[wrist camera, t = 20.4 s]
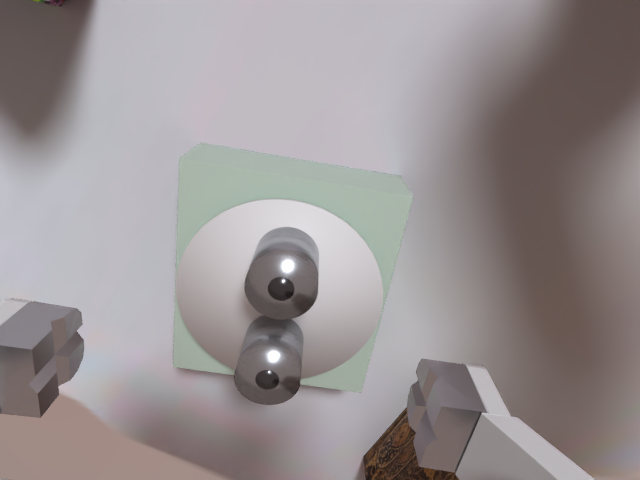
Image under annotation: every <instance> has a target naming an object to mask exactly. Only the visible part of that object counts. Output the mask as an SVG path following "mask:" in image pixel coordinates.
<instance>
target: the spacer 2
mask: <svg viewBox="0 0 640 480" xmlns="http://www.w3.org/2000/svg"><path fill="white" fill-rule="evenodd" d="M303 344H304V336H303V332H302V330H301V328H300V327H299V325H298V324H297V323H296V322H295V321H293V320H292V319H287V320H279V319H273V318H269V317H267V316H261V317H259V318H257V319H255V320H254V321H253V322H252V323H251V324H250V325H249V327H248V329H247V331H246V335H245V338H244V342H243V345H242V349H241V352H240V355H239V359H238V362H237V366H236V369H235V373H234V381H235V385H236V387H237V389H238V390H239V392H240V393H241V394H242V395H243V396H245V397H246V398H247V399H249V400H251V401H253V402H256V403H259V404H265V405H274V404H279V403H283V402H285V401H287V400H289V399H290V398H292V397H293V396H294V395H295V394H296V393H297V391H298V389H299V387H300V381H301V369H302V356H303Z"/></svg>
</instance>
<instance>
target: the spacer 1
mask: <svg viewBox="0 0 640 480" xmlns="http://www.w3.org/2000/svg"><path fill="white" fill-rule="evenodd" d="M318 279H319V251H318V247H317V245H316V243H315V242H314V240H313V239H312V238H311V237H310V236H309V235H308V234H307V233H305V232H304V231H302V230H300V229H297V228H293V227H280V228H276V229H273V230H271V231H269V232H267V233H266V234H265V235H264V236H263V237H262V238H261V239H260V241H259V243H258V245H257V248H256V250H255V253H254V256H253V259H252V261H251V264H250V267H249V270H248V273H247V275H246V278H245V283H244V289H245V294H246V297H247V299H248V301H249V303H250V304H251V305H252V307H253V308H254V309H255V310H257V311H258V312H259V313H261V314H262V315H264V316H267V317H269V318H273V319H279V320H287V319H293V318H296V317H299V316H301V315H303V314H304V313H306V312H307V311H308V310H309V309H310V308H311V307H312V306H313V304H314V303H315V301H316V298H317V295H318Z"/></svg>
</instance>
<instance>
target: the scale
mask: <svg viewBox="0 0 640 480" xmlns="http://www.w3.org/2000/svg"><path fill="white" fill-rule="evenodd" d="M412 200H413V195H412V193H411V192H410V190H409V189H408V187H407V185H406V184H405V182H404V180H403V179H402V177H401V176H398V175H392V174H386V173H380V172H374V171H368V170H362V169H356V168H350V167H344V166H338V165H332V164H326V163H320V162H314V161H308V160H302V159H296V158H290V157H284V156H278V155H272V154H266V153H260V152H254V151H248V150H242V149H236V148H230V147H224V146H218V145H212V144H206V143H200V144H198V145H197V146H196V147H194V148H193V149H191V150H190V151H189V152H187V153H186V154H184V155H183V156H181V157H180V158H179V183H178V215H177V247H176V279H175V312H174V344H173V367H177V368H184V369H192V370H199V371H206V372H213V373H221V374H228V375H234V373H235V369H236V366H237V362H238V359H239V355H240V352H241V349H242V345H243V342H244V338H245V335H246V331H247V329H248V327H249V325H250V324H251V323H252V322H253V321H254V320H255V319H257V318H259V317H261V316H264V315H262V314H261V313H259V312H258V311H257V310H255V309H254V308H253V307H252V305H251V304H250V303H249V301H248V299H247V297H246V294H245V289H244V283H245V278H246V275H247V273H248V270H249V267H250V264H251V261H252V259H253V256H254V253H255V250H256V248H257V245H258V243H259V241H260V239H261V238H262V237H263V236H264V235H265V234H266V233H267V232H269V231H271V230H273V229H276V228H280V227H293V228H297V229H300V230H302V231H304V232H305V233H307V234H308V235H309V236H310V237H311V238H312V239H313V240H314V242H315V243H316V245H317V247H318V251H319V279H318V295H317V298H316V301H315V303H314V304H313V306H312V307H311V308H310V309H309V310H308V311H307V312H306V313H304V314H303V315H301V316H299V317H296V318H293V319H292V320H293V321H295V322H296V323H297V324H298V325H299V327H300V328H301V330H302V332H303V336H304V344H303V356H302V369H301V381H300V384H301V385H308V386H315V387H323V388H330V389H337V390H344V391H352V392H359V393H361V391H362V387H363V384H364V380H365V376H366V372H367V369H368V365H369V361H370V357H371V354H372V350H373V346H374V342H375V339H376V335H377V331H378V327H379V324H380V320H381V316H382V312H383V309H384V305H385V301H386V297H387V294H388V290H389V286H390V282H391V279H392V275H393V271H394V267H395V264H396V260H397V256H398V252H399V249H400V245H401V241H402V237H403V234H404V230H405V226H406V222H407V219H408V215H409V211H410V207H411V204H412Z"/></svg>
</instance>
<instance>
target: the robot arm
mask: <svg viewBox="0 0 640 480" xmlns="http://www.w3.org/2000/svg"><path fill="white" fill-rule="evenodd" d="M81 325H82V315H81V312H80V311H79V310H78V309H77V308H71V307H65V306H59V305H53V304H47V303H41V302H35V301H34V302H32V301H28V300H21V299H15V298H11V299H5V300H4V301H3V302H1V303H0V414H10V415H19V416H29V417H39V418H41V417H42V415H43V414H44V413H45V412H46V410H47V409H48V408H49V407H50V405H51V404H52V403H53V402H54V400H55V399H56V398H57V396H58V395H59V389H58V386H59V385H61V384H63V383H65V382H67V381H70V380H71V379H72V377H73V376H74V375H75V373H76V372H77V371H78V368H79V366H80V363H81V361H82V359H83V353H84V340H83V338H82V337H81V336H80V335H79V334H78V332H77V330H78V329H79V327H80V326H81ZM416 374H417V377H418V381H417V382H416V383H414V384H413V385H412V386H411V388H410V392H409V395H408V403H407V415H408V421H409V426H410V427H411V428H412V429H413V430H414V431H415V432H416V435H415V438H414V441H413V443H414V448H415V452H416V456H417V460H418V465H419V467H424V468H430V469H436V470H443V471H449V472H455V473H456V474H455V475H456V476H457V477H458V478H459V480H595V479H594V478H593V477H591V476H590V475H589V474H588V473H586V472H585V471H584V470H583V469H581V468H580V467H579V466H578V465H576V464H575V463H574V462H572V461H571V460H570V459H569V458H567V457H566V456H565V455H564V454H562V453H561V452H560V451H559V450H557V449H556V448H555V447H554V446H552V445H551V444H550V443H549V442H547V441H546V440H545V439H544V438H542V437H541V436H540V435H539V434H537V433H536V432H535V431H534V430H532V429H531V428H530V427H529V426H527V425H526V424H525V423H524V422H522V421H521V420H520V419H519V418H517V417H511V415H510V413H509V411H508V410H507V408H506V406H505V404H504V402H503V400H502V398H501V396H500V394H499V392H498V390H497V389H496V387H495V385H494V383H493V381H492V379H491V377H490V375H489V373H488V371H487V369H486V368H484V367H483V366H480V365H471V364H463V363H462V364H457V363H450V362H443V361H436V360H429V359H421V361H420V362H419V364H418V367H417V370H416ZM0 480H10V479H2V478H0Z"/></svg>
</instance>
